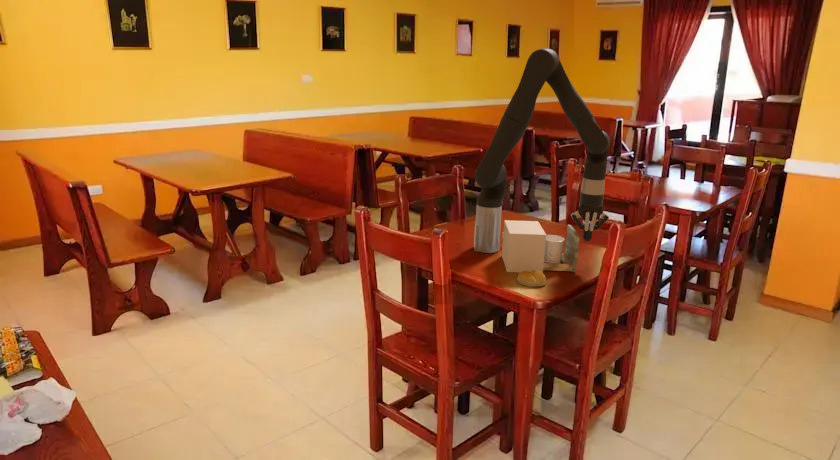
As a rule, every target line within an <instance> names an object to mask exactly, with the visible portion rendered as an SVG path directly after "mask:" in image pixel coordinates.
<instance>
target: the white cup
mask: <svg viewBox="0 0 840 460" xmlns="http://www.w3.org/2000/svg"><path fill="white" fill-rule="evenodd" d="M565 241H566V238H565V237H563V236H561V235H556V234H546V244H545V255H544V263H551V264H562V260H561V259H562V253H563V252H564V248H565V247H564V245H565Z"/></svg>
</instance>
